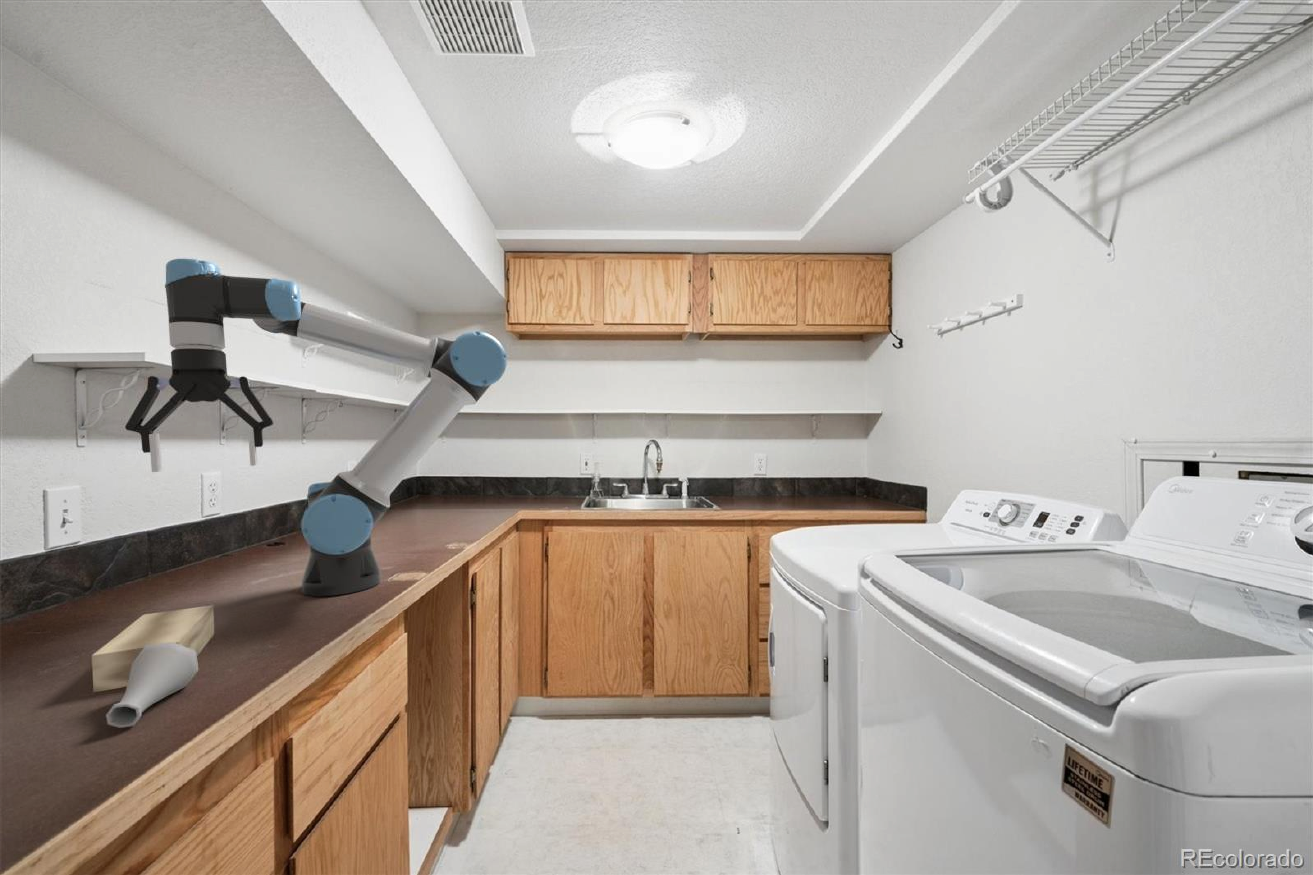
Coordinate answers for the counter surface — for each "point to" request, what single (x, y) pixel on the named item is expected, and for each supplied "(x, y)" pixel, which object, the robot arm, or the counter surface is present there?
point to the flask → (153, 680)
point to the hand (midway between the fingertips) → (207, 468)
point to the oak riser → (150, 642)
